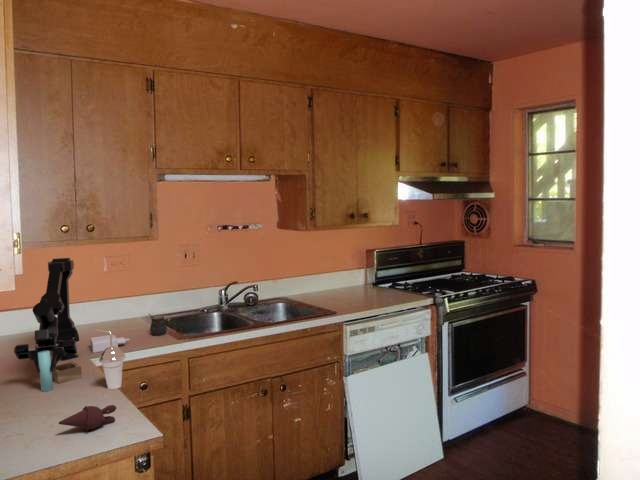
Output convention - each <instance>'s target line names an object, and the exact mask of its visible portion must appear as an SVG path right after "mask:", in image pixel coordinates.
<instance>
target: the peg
mask: <svg viewBox="0 0 640 480" xmlns="http://www.w3.org/2000/svg"><path fill="white" fill-rule="evenodd" d="M51 360H52V358H51V351H48V350H45V351H40V352H38V361H39V382H40V391H41V392H43V393H44V392H50V391H52V390H54V383H53V379H52V372H51V371H50V366H51Z"/></svg>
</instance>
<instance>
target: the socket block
mask: <svg viewBox="0 0 640 480" xmlns="http://www.w3.org/2000/svg"><path fill="white" fill-rule="evenodd" d="M82 375H83V374H82V366H81V365H79V364H77V363H76V362H75V361H70V362H66V363H61V364H56V366H55V368H54V369H53V371H52V381H54V382H55V383H56V384H58V385H59V384H62V383H66V382H69V381H74V380H78V379H81V378H82V377H83V376H82Z"/></svg>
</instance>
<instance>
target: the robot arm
mask: <svg viewBox="0 0 640 480" xmlns="http://www.w3.org/2000/svg"><path fill="white" fill-rule="evenodd" d="M74 264H75V262H74V260H71V258H70V257H60V258H59V257H58V258H52V260H51V261H48V262H47V269H48V271H47V272H49V273H48V277H47V284H46V291H45V293H44V294H43V295H42V296H41V298H40V301H39V302H38V303H36V304H35V305H33V308H32V313H33V315H34V317H35V319H36V322H37V323H38V324H39V327H38V328H39V329H36V330H34V341H35V345H34V346H33V345H32V346H30V345H29V343H23V344H16V346H15V347H14V350H13V351H14V354H15V357H16V358H17V359H18V360H27V359H29V360H30V361H33V362H34V365H35V369H36V372H37V374H40V372H39V361H38V352H40V351H45V350H48V351H50V352H52V357H51V366H50V371H51V372H52V371H53V369H54V368H55V366H57V365H58V363H59V361H64V360H70V359H74V358H78V357H79V354H77V353H78V345H77V342H80V334H79V332H78V329H77V328H76V327H75V322H74V321H73V319H72V318H71V317H70V316H71V315H70V314H71V313H70V288H69V287H70V286H69V280H70V279H71V277H72V275H73V270H74V269H75V265H74Z"/></svg>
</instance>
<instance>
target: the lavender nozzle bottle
mask: <svg viewBox="0 0 640 480" xmlns="http://www.w3.org/2000/svg"><path fill="white" fill-rule="evenodd" d="M130 340H131V339H130V338H125V337H124V336H122V337H117V336H116V334H115V335H114V334H112V341H113V346H115V347H118V348H119V345H125V344H126V342H127V341H130ZM89 343H90V349H91V351H92V353H93V354H96V353H97V354H98V353H102V352H103V351H104V350H105V349H106V348H108V347H111V344H110V334H108V335H100V336H96V337H94V336H93V337H89Z"/></svg>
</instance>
